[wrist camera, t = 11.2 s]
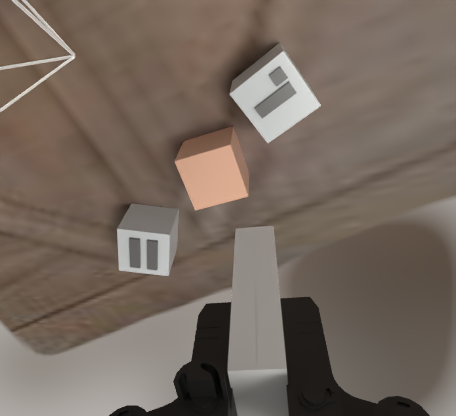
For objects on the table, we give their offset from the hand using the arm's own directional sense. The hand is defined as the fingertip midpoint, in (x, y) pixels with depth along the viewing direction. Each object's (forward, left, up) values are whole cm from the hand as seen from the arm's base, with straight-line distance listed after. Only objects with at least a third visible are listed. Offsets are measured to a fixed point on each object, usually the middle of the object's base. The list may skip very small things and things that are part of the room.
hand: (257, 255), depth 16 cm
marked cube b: (+2, +2, -22) cm, 22 cm away
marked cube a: (-12, -11, -22) cm, 28 cm away
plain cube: (-4, -4, -22) cm, 23 cm away
